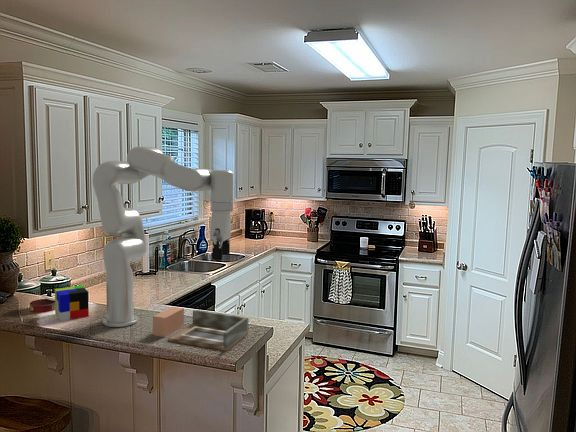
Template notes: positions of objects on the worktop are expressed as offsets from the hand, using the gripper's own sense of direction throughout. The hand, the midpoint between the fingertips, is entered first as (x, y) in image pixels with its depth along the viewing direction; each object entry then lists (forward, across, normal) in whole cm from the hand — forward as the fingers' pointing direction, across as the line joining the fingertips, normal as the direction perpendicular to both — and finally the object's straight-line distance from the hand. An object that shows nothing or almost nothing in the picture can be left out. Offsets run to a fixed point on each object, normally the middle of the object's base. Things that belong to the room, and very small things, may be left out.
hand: (221, 257), depth 161 cm
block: (+29, -4, -20) cm, 35 cm away
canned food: (+29, -17, -78) cm, 85 cm away
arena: (+29, 0, -4) cm, 29 cm away
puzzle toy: (+29, -12, -63) cm, 70 cm away
